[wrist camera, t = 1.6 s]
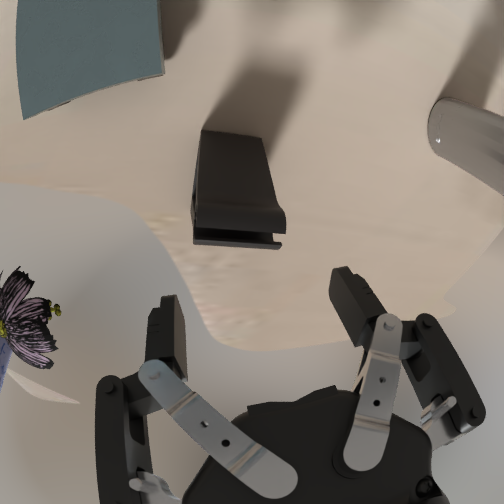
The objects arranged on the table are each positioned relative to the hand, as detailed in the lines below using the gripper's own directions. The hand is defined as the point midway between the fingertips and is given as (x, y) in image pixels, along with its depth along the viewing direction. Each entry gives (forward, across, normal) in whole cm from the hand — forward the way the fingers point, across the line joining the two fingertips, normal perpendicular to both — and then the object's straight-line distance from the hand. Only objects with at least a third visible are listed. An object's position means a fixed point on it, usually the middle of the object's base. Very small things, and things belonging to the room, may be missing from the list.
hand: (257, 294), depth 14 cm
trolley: (+17, +10, -21) cm, 29 cm away
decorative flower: (+18, +31, +12) cm, 38 cm away
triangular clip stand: (+18, 0, 0) cm, 18 cm away
